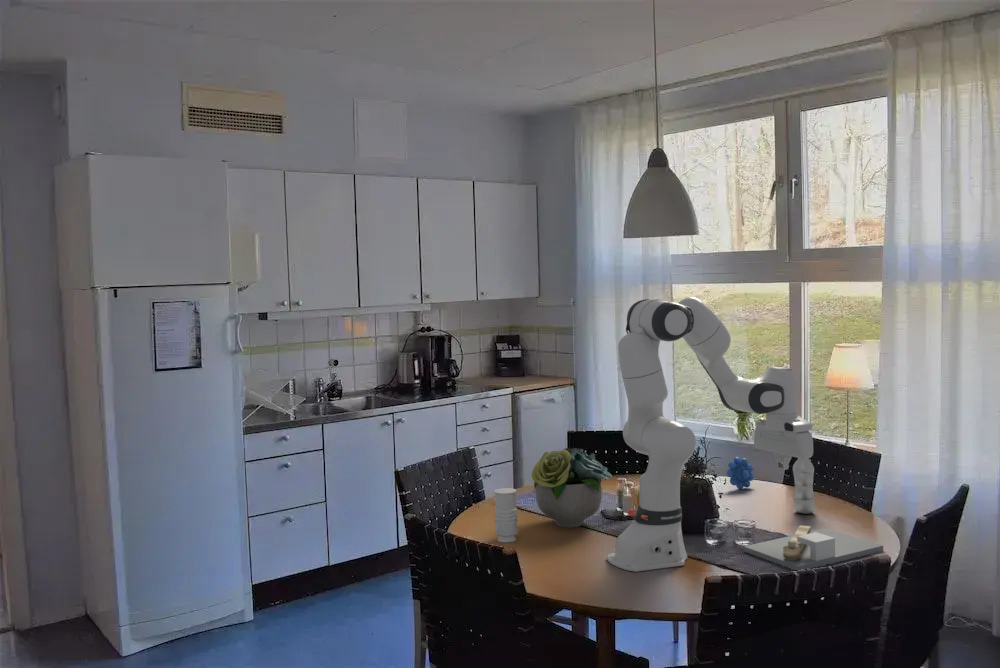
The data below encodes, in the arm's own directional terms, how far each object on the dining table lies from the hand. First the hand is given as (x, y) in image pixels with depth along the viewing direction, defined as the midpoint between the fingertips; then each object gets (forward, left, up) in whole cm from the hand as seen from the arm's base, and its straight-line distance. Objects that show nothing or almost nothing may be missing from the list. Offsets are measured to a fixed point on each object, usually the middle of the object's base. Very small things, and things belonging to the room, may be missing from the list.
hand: (782, 468), depth 248 cm
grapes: (+30, +50, -21) cm, 62 cm away
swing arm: (-7, -12, -19) cm, 23 cm away
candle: (-69, +44, -21) cm, 84 cm away
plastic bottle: (+25, +16, -21) cm, 36 cm away
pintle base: (-2, -13, -21) cm, 25 cm away
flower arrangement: (-45, +47, -21) cm, 68 cm away
